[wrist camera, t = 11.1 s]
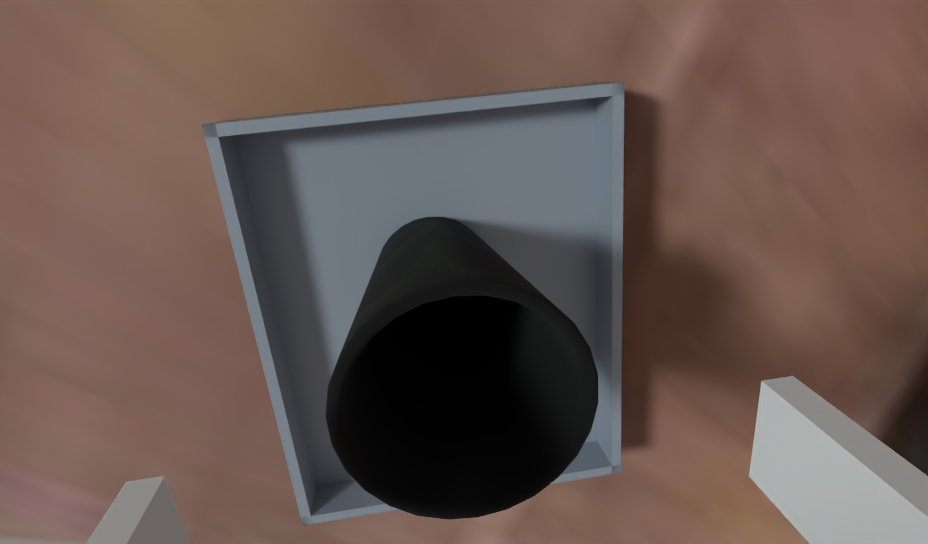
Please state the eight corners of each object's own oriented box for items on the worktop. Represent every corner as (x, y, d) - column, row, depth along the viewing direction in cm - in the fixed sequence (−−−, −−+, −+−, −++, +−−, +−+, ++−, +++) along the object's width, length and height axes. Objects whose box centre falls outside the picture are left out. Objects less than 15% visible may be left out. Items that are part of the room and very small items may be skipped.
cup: (414, 161, 24) (434, 224, 13) (541, 251, 26) (653, 372, 15) (323, 293, 26) (270, 453, 14) (451, 367, 28) (492, 557, 17)
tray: (225, 120, 23) (201, 124, 20) (598, 82, 25) (624, 82, 22) (311, 484, 30) (302, 525, 27) (600, 437, 31) (620, 472, 29)
